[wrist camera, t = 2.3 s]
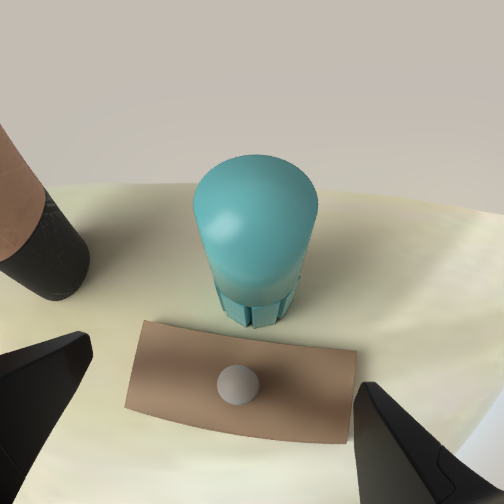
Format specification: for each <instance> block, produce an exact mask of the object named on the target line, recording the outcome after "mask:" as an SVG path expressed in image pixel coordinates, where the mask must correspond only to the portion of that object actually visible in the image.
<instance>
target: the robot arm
mask: <svg viewBox="0 0 504 504" xmlns="http://www.w3.org/2000/svg"><path fill="white" fill-rule="evenodd" d="M92 358H93V350H92V345H91V340H90V336H89V335H88V334H87V333H84V332H81V331H76V332H73V333H70V334H67V335H64V336H60V337H57V338H54V339H51V340H48V341H44V342H41V343H38V344H35V345H32V346H28V347H25V348H22V349H18V350H15V351H12V352H9V353H5V354H2V355H0V504H13V501H14V499H15V497H16V495H17V493H18V492H19V490H20V488H21V486H22V484H23V482H24V480H25V478H26V476H27V474H28V472H29V470H30V469H31V467H32V465H33V463H34V461H35V459H36V458H37V456H38V454H39V452H40V451H41V449H42V447H43V445H44V444H45V442H46V440H47V438H48V437H49V435H50V433H51V432H52V430H53V428H54V427H55V425H56V423H57V422H58V420H59V418H60V417H61V415H62V413H63V412H64V410H65V408H66V407H67V405H68V404H69V402H70V400H71V399H72V397H73V396H74V394H75V392H76V390H77V388H78V387H79V385H80V383H81V381H82V378H83V376H84V374H85V372H86V370H87V368H88V367H89V365H90V363H91V361H92ZM353 410H354V450H355V459H356V467H357V476H358V485H359V495H360V504H504V491H502V490H500V489H498V488H496V487H495V486H493V485H492V484H490V483H489V482H488V481H486V480H485V479H484V478H482V477H481V476H479V475H478V474H476V473H475V472H474V471H473V470H471V469H470V468H469V467H467V466H466V465H465V464H463V463H462V462H461V461H459V459H457V458H456V457H455V456H454V455H453V454H452V453H451V452H449V451H448V450H447V449H446V448H445V447H444V446H443V445H441V443H440V442H439V441H437V440H436V439H435V438H434V437H433V436H432V435H431V434H430V433H429V432H428V431H427V430H426V429H425V428H424V427H423V426H421V425H420V424H419V423H418V422H417V421H416V420H415V419H414V418H413V417H412V416H411V415H410V414H409V413H408V412H407V411H405V410H404V409H403V408H402V407H401V406H400V405H399V404H398V403H397V402H396V401H395V400H394V399H393V398H392V397H391V396H390V395H388V394H387V393H386V392H385V391H384V390H383V389H382V388H381V387H380V386H379V385H378V384H377V383H376V382H366V381H365V382H362V384H361V385H360V388H359V390H358V393H357V395H356V398H355V400H354V406H353Z"/></svg>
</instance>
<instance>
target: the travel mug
mask: <svg viewBox="0 0 504 504" xmlns="http://www.w3.org/2000/svg"><path fill="white" fill-rule="evenodd" d="M88 266H89V252H88V248H87V246H86V244H85V243H84V241H83V240H82V238H81V237H80V236H79V234H78V233H77V232H76V230H75V229H74V228H73V226H72V225H71V224H70V222H69V221H68V220H67V218H66V217H65V216H64V214H63V213H62V212H61V210H60V209H59V208H58V206H57V205H56V203H55V202H54V201H53V199H52V198H51V196H50V195H49V194H48V192H47V191H46V189H45V188H44V187H43V185H42V184H41V182H40V181H39V180H38V178H37V177H36V176H35V174H34V173H33V172H32V170H31V169H30V167H29V166H28V165H27V163H26V162H25V160H24V159H23V157H22V156H21V155H20V153H19V152H18V150H17V149H16V147H15V146H14V145H13V143H12V141H11V140H10V138H9V137H8V135H7V134H6V132H5V131H4V129H3V128H2V126H1V125H0V271H2V272H3V273H5V274H6V275H8V276H9V277H11V278H12V279H14V280H15V281H17V282H18V283H20V284H21V285H23V286H24V287H26V288H28V289H29V290H31V291H32V292H34V293H36V294H37V295H39V296H41V297H43V298H45V299H47V300H51V301H58V300H62V299H64V298H66V297H68V296H70V295H71V294H72V293H74V292H75V291H76V290H77V289H78V287H79V286H80V285H81V283H82V282H83V280H84V278H85V276H86V274H87V270H88Z"/></svg>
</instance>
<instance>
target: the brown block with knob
mask: <svg viewBox="0 0 504 504" xmlns="http://www.w3.org/2000/svg"><path fill="white" fill-rule="evenodd" d="M356 353H357V351H347V350H335V349H324V348H314V347H304V346H295V345H287V344H279V343H271V342H263V341H256V340H249V339H243V338H236V337H230V336H224V335H218V334H212V333H206V332H200V331H195V330H190V329H184V328H179V327H174V326H169V325H164V324H160V323H155V322H150V321H146V320H144V322H143V326H142V330H141V334H140V338H139V342H138V346H137V351H136V355H135V359H134V364H133V368H132V373H131V377H130V382H129V387H128V392H127V397H126V402H125V408H128V409H131V410H134V411H137V412H140V413H144V414H147V415H150V416H154V417H157V418H161V419H165V420H169V421H172V422H176V423H181V424H185V425H189V426H193V427H198V428H203V429H207V430H212V431H218V432H223V433H229V434H235V435H241V436H248V437H255V438H262V439H271V440H280V441H291V442H304V443H322V444H346V443H347V437H348V430H349V423H350V415H351V407H352V398H353V388H354V378H355V366H356Z"/></svg>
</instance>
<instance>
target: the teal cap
mask: <svg viewBox="0 0 504 504" xmlns="http://www.w3.org/2000/svg"><path fill="white" fill-rule="evenodd" d="M193 208H194V214H195V218H196V221H197V225H198V228H199V231H200V235H201V238H202V241H203V245H204V248H205V251H206V255H207V258H208V261H209V264H210V267H211V271H212V274H213V277H214V282H215V287H216V290H217V293H218V296H219V299H220V302H221V305H222V308H223V311H224V310H226V313H227V316H228V317H229V318H231V319H233V320H234V321H236V322H238V323H239V324H241V325H243V326H244V327H247V326H248V324H249V323H250V321H251V320H252V324H253V328H254V329H255V328H259V327H263V326H268V325H272V324H275V323H276V319H277V317H278V318H280V319H282V317H283V316H284V314H285V312H286V311H287V309H288V307H289V306H290V304H291V302H292V300H293V297H294V294H295V291H296V288H297V285H298V282H299V279H300V275H299V274H300V271H301V266H302V263H303V260H304V256H305V253H306V250H307V246H308V243H309V240H310V236H311V233H312V229H313V226H314V222H315V219H316V215H317V211H318V198H317V193H316V190H315V188H314V186H313V184H312V182H311V181H310V180H309V178H308V177H307V176H306V175H305V174H304V173H303V172H302V171H301V170H300V169H299V168H298V167H296V166H294V165H293V164H291V163H289V162H287V161H285V160H282V159H280V158H276V157H272V156H267V155H245V156H239V157H235V158H232V159H229V160H227V161H224V162H222V163H220V164H219V165H217V166H215V167H214V168H213V169H211V170H210V171H209V172H208V173H207V174H206V175H205V176H204V177H203V179H202V180H201V182H200V183H199V185H198V187H197V189H196V191H195V195H194V201H193Z"/></svg>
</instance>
